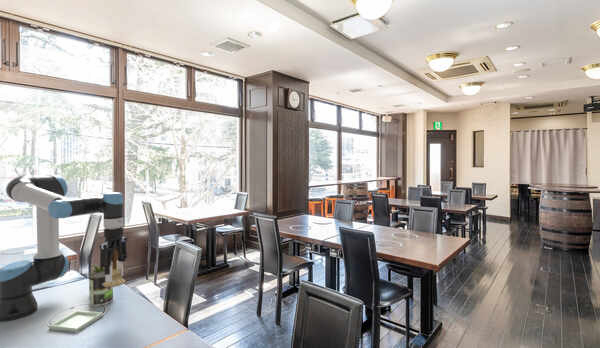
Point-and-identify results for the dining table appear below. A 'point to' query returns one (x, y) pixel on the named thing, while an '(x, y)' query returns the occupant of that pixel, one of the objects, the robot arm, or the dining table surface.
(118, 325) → the dining table surface
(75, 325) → the tray
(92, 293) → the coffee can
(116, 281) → the hand bell
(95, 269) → the house plant
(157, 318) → the dining table surface
